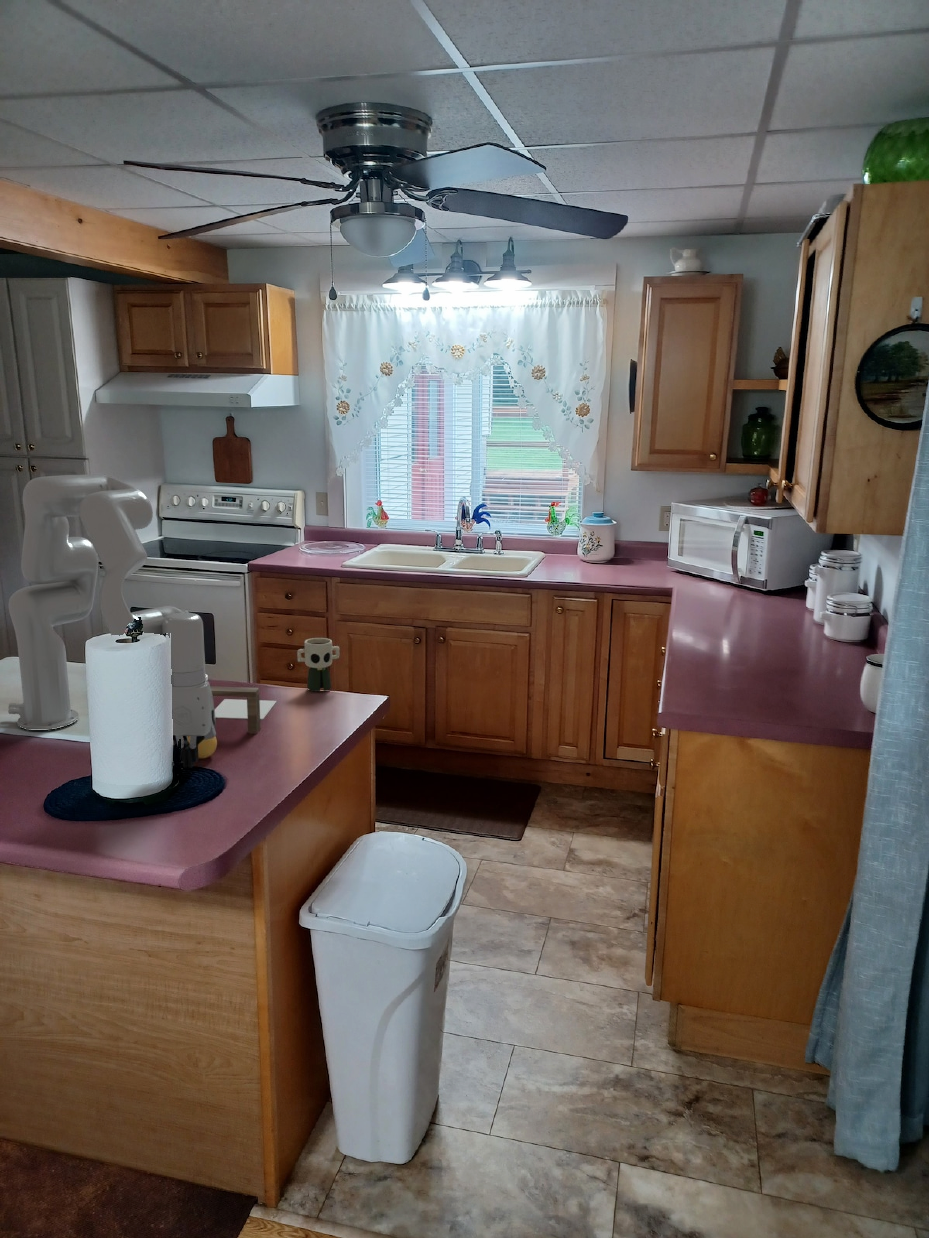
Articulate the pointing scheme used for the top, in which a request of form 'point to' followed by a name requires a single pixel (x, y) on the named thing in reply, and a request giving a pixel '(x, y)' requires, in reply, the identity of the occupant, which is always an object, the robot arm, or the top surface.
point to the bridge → (252, 703)
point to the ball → (206, 747)
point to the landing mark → (240, 709)
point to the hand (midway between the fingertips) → (190, 764)
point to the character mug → (318, 662)
